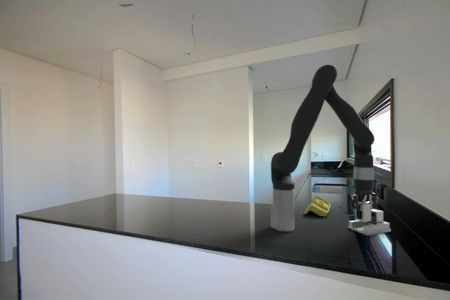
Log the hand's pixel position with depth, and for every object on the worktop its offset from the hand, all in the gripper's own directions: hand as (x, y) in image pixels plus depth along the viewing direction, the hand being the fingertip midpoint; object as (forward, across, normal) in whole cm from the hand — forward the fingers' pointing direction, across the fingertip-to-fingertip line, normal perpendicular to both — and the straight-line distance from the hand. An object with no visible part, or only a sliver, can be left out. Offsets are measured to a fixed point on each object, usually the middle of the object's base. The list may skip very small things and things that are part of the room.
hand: (363, 218), depth 98 cm
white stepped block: (+5, +3, 0) cm, 6 cm away
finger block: (+1, 0, 0) cm, 1 cm away
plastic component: (+6, +4, +30) cm, 31 cm away
